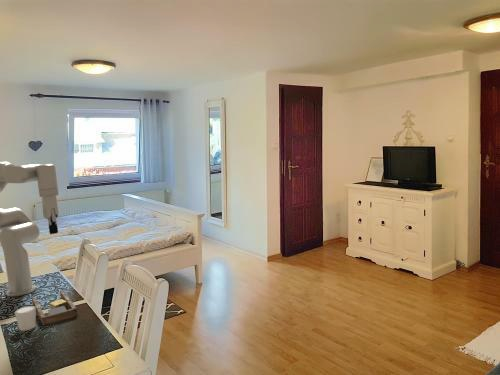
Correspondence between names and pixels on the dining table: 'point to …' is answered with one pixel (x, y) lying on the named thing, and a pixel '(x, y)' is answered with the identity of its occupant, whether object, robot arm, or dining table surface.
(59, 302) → the yellow square block
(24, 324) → the white cylinder
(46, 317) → the brown wooden tray
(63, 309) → the counterweight
